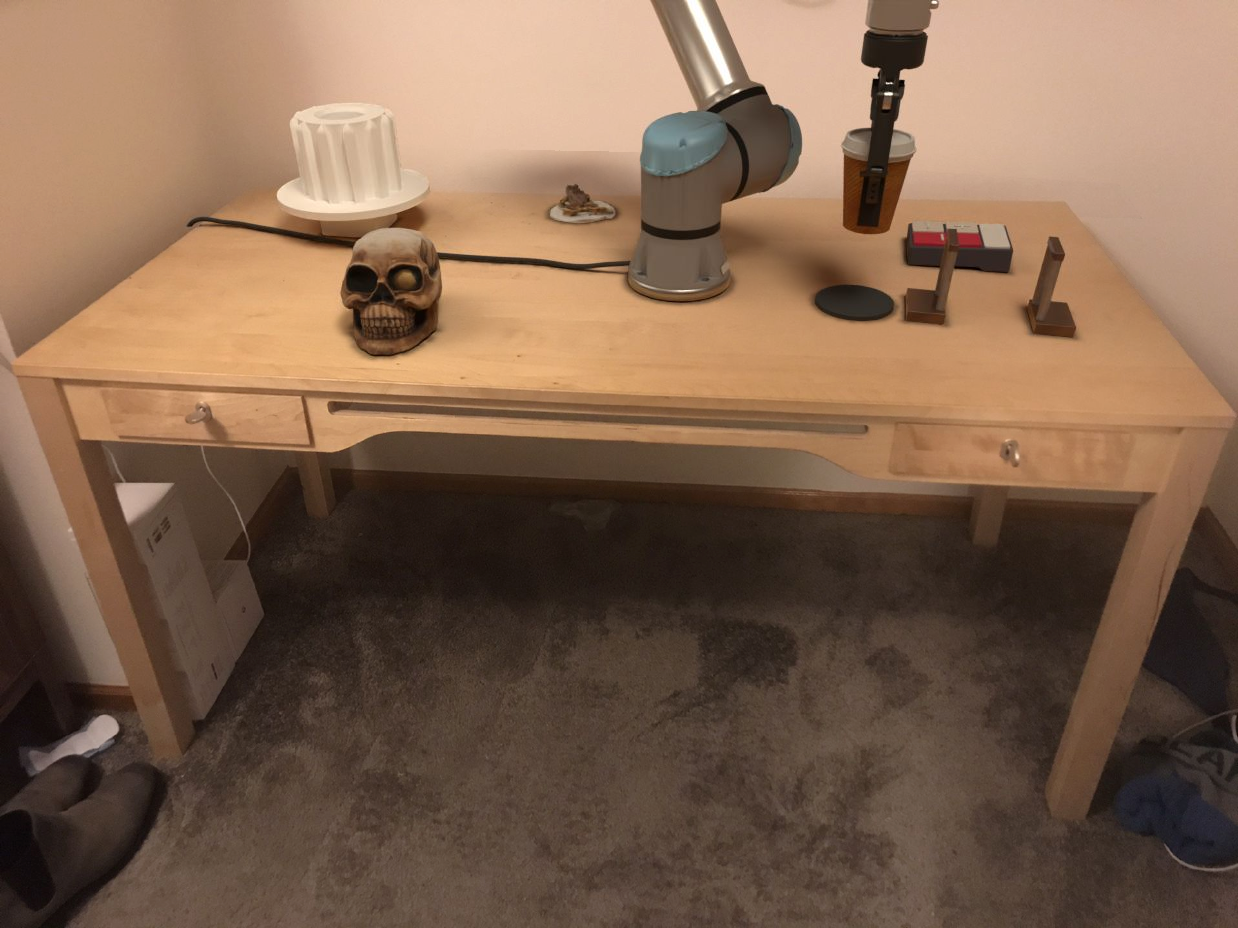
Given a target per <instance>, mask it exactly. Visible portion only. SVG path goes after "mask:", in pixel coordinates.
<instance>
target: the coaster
mask: <svg viewBox="0 0 1238 928" xmlns="http://www.w3.org/2000/svg"><path fill="white" fill-rule="evenodd" d="M814 303H815V305H816V307H817V308H818V309H820V311H822V312H824V313H825V314H827V315H830V316H832V317H835V318H839V319H843V320H848V321H849V320H850V321H873V320H879V319H882V318H885V317H887V316H889V315H890V314H891V313H892V312H893V310H894V306H895V302H894V300H893V298H892V297H891V296H890V295H889V294H887V293H886V292H884V291H882V290H880V289H877V288H874V287H871V286H867V285H859V284H849V283H847V284H845V283H844V284H835V285H830V286H829V285H828V286H826V287H824V288H822V289H820V290H819V291H818V292H817V293H816V294H815V298H814Z"/></svg>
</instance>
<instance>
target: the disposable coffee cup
mask: <svg viewBox="0 0 1238 928" xmlns="http://www.w3.org/2000/svg"><path fill="white" fill-rule="evenodd" d="M871 133H872V131H871V127H860V128H855V129H851V130H848V131H847V132H846V134H845V137H844V140H843V141H842V142H841V144H840V147H841V149H842V154H843V177H842V178H843V181H842V183H843V187H842V188H843V189H842V193H843V194H842V227H843V228H844V229H845V230H847V231H849V232H851V233H852V232H853V233H855V234H859V235H882V234H884V233H887V232H889V231H890V230H891V226H892V223H893V220H894V216H895V213H896V209H897V206H898V203H899V200H900V197H901V193H902V190H903V186H904V183H905V181H906V180H905V179H906V177H907V173H908V170H909V166H910V163H911V160H912V158H913V157H914V154H916V152H917V150H918V148H917V145H916V141H915V136H914V135H913V134H912V133H910V132H907V131H904V130H900V129H896V128H894V129H893V135H892V141H891V148H890V154H889V161H888V167H887V169H888V174H887V176H886V181H885V187H884V193H883V199H882V205H881V212H880V218H879V224H878V227H867V226H857V220H858V213H859V207H860V200H861V193H862V186H863V180H864V177H859V175H860V171H865V170H866V168H867V161H868V155H869V148H870V140H871ZM876 167H882V166H876Z"/></svg>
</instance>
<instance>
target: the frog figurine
mask: <svg viewBox="0 0 1238 928" xmlns="http://www.w3.org/2000/svg"><path fill="white" fill-rule="evenodd" d="M614 217H616V208H614V207H613V205H612V204H611V203H608V202H606V201H602V200H593V199H592V198H591V195H590V194H588V193H585V191H584V190H581V188H580V185H579V184H577V183H574V185H572V184H567V185H566V186H565V196H564V197H563V198H561V199H560V200H559V203H558V204H557V205H555V206H553V208H551V209H550V214H549V218H551V219H552V220H554V221H560V222H562V223H571V224H588V223H593V222H599V221H602V220H611V219H613V218H614Z"/></svg>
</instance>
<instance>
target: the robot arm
mask: <svg viewBox="0 0 1238 928" xmlns="http://www.w3.org/2000/svg"><path fill="white" fill-rule="evenodd" d="M649 1H650V3H651V5H652V8H653V10H654V13H655V14H656V17H657V19H658V21H659V24H660V26H661V28H662V31H663V33H664V35H665V37H666V41H667V42H668V45H669V47H670V49H671V51H672V54H673V56H674V59H675V60H676V63H677V65H678V68H679V70H680V72H681V75H682V77H683V79H684V81H685V83H686V85H687V88H688V90H689V92H690V95H691V97H692V99H693V102H694V104H695V106H696V110H689V111H687V112H682V111H680V112H674V113H670V114H666V115H664V116H661V117H659V118H657V119H655V120H654V121H652V122H650V124H649V125H648V126H647V127H646V128H645V130H644V132H643V135H642V141H641V150H640V151H641V152H640V156H639V162H640V164H639V165H640V232H639V236H638V238H637V241H636V244H635V247H634V250H633V253H632V256H631V258H630V260H618V261H617V260H615V261H603V262H593V263H572V262H565V261H557V260H552V259H543V258H533V257H516V256H497V255H496V256H495V255H482V254H481V255H479V254H464V253H453V252H452V253H450V252H440V251H439V252H438V251H436V252H437V254H438V258H439V259H440V258H442V259H443V258H444V259H454V260H464V261H465V260H466V261H467V260H468V261H480V262H481V261H483V262H498V263H499V262H500V263H519V264H521V263H522V264H535V265H536V264H537V265H545V266H551V267H558V268H564V269H573V270H590V269H591V270H592V269H593V270H594V269H600V268H614V267H615V268H616V267H628V268H627V270H628V275H627V276H628V278H627V279H628V281H627V282H628V284H629V286H630V287H631V288H632V289H633V290H634V291H635V292H636V293H638V294H641V295H644V296H646V297H649V298H653V299H656V300H660V301H670V302H692V301H693V302H694V301H701V300H707V299H708V298H712V297H715V296H718V295H720V294H721V293H723V292H724V291H725V290H727V289H728V287H729V285H730V280H731V268H730V262H729V260H728V257H727V252H726V248H725V246H724V241H723V238H722V233H721V228H722V227H721V224H722V211H723V210H722V208H723V205H725V204H726V203H731V202H733V201H737V200H740V199H742V198H746V197H749V196H752V195H755V194H761V193H766V192H768V191H770V190H771V189H773V188H775V187H777V186H780V185H783V184H784V183H785V182H787V181H788V180H789V179H790V178H791V177H792V175H794V173H795V171H796V169H797V168H798V166H799V162H800V156H801V155H802V151H803V134H802V129H801V126H800V123H799V121H798V119H797V117H796V116H795V114H794V112H792V110H790V109H788V108H785V107H784V106H783V105H780V104H778V103H775V104H773V102H772V100H771V97H770V96H769V93H768V91H767V89H766V86H765V85H764V84H763V83H760V82H757V81H753V80H752V79H751V78H750V77H749V74H748V72H747V69H746V67H745V65H744V63H743V60H742V58H741V55H740V53H739V51H738V49H737V47H736V44H735V42H734V39H733V37H732V35H731V32H730V30H729V28H728V26H727V23H726V21H725V18H724V16H723V13H722V11H721V9H720V7H719V5H718V3H717V0H649ZM939 7H940V1H939V0H867V7H866V14H865V20H864V24H865V26H866V27H867V28H868V29H867V30H866V31H865V33H864V34H863V38H862V39H863V40H862V47H861V55H860V61H861V63H862V65H864V66H865V67H868V68H872V69H879V70H878V71H877V76H876V77H877V78H875V77H874V78H873V77H872V80H871V87H870V98H871V100H870V101H871V102H870V112H869V113H870V114H869V119H870V121H871V123H870V128H871V131H872V133H871V140H870V148H869V155H868V161H867V168H866V170H865V171H860V175H859V177H864V180H863V186H862V193H861V200H860V207H859V213H858V220H857V226H867V227H878V224H879V218H880V212H881V205H882V199H883V193H884V187H885V181H886V176H887V174H888V169H887V167H888V161H889V154H890V148H891V141H892V135H893V129H895V122H897V121H898V119H899V116H900V115H899V114H900V107H901V101H902V100H903V98H904V95H905V89H906V79H900V78H901V71H903V70H908V71H909V70H914V69H915V70H916V69H918V68H919V67H921V66H922V65H923V64H924V62H925V57H926V51H927V45H928V39H929V35H927V34H928V33H926V32H925V31H924V30H927V29H928V28H929V27H930V24H931V19H932V10H937V9H938V8H939ZM876 166H882V167H876ZM200 222H207V223H214V224H218V225H219V224H220V225H226V226H237V227H243V228H248V229H253V230H259V231H264V232H271V233H275V234H282V235H287V236H292V237H297V238H303V239H308V240H314V241H319V242H324V243H330V244H336V245H340V246H346V247H347V246H348V247H351V248H352V247H354V245H355V243H356V242H357V241H351V240H345V239H341V238H340V239H339V238H333V237H330V236H324V235H323V236H322V235H318V234H311V233H306V232H301V231H296V230H290V229H285V228H279V227H273V226H268V225H262V224H256V223H252V222H245V221H239V220H233V219H231V220H230V219H223V218H222V219H221V218H217V217H210V216H198V217H194V218H192V219H191V220H189V221H188V222H187V224H186V227H187V228H192V227H193V226H194V225H195V224H197V223H200Z"/></svg>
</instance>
